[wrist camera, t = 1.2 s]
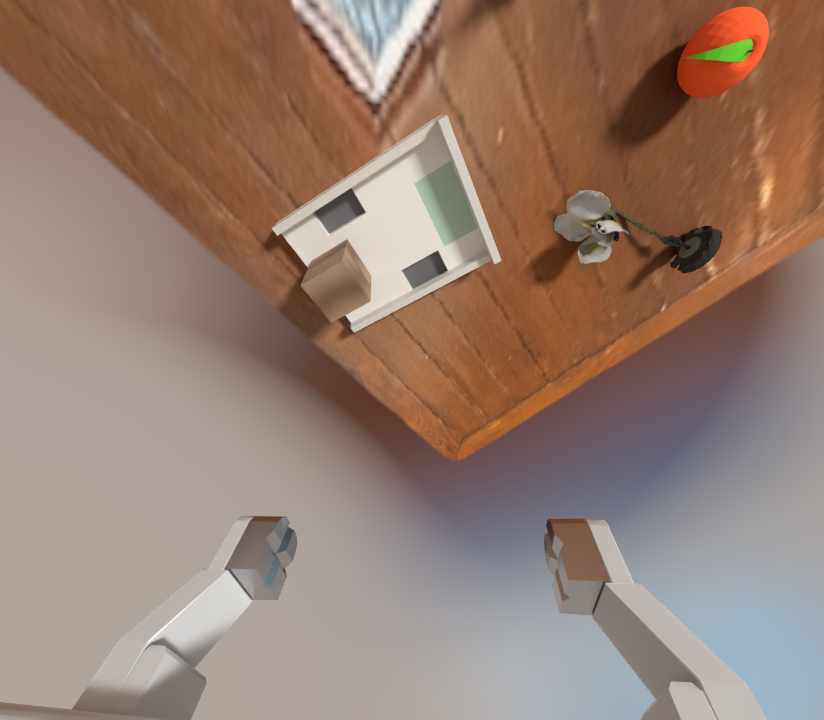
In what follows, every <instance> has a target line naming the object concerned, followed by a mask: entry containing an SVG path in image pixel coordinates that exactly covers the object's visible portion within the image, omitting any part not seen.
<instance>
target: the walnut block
mask: <svg viewBox="0 0 824 720" xmlns="http://www.w3.org/2000/svg"><path fill="white" fill-rule="evenodd" d="M371 277H372V276H371V274H370V273H369V271H368V270H367V268H366V267H365V265H364V264H363V262H362V261H361V259H360V257H359V256H358V254H357V253H356V251H355V250H354V248H353V247H352V245H351V244H350V242H349V241H348V239H346V240H345V241H343V242H342V243H340V244H338V245H337V246H335V247H333V248H332V249H330V250H328V251H327V252H325V253H323V254H322V255H320V256H319V257H317V258H315V259H314V260H312V261H311V263H310V265H309V267H308V269H307V272H306V274H305V276H304V279H303V281H302V283H301V287H302V288H303V289H304V290H305V292H306V293H307V294H308V295H309V296H310V298H311V299H312V300H313V301H314V302H315V304H316V305H317V306H318V307H319V308H320V310H321V311H322V312H323V313H324V314H325V316H326V317H327V318H328V319H329V321H330V322H331V323H332V322H334V321H336V320H338V319H339V318H341V317H343V316H345V315H347V314H349V313H350V312H352V311H354V310H356V309H358V308H359V307H361V306H363V305H365V304H367V303H369V302H370V301H371Z"/></svg>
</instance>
